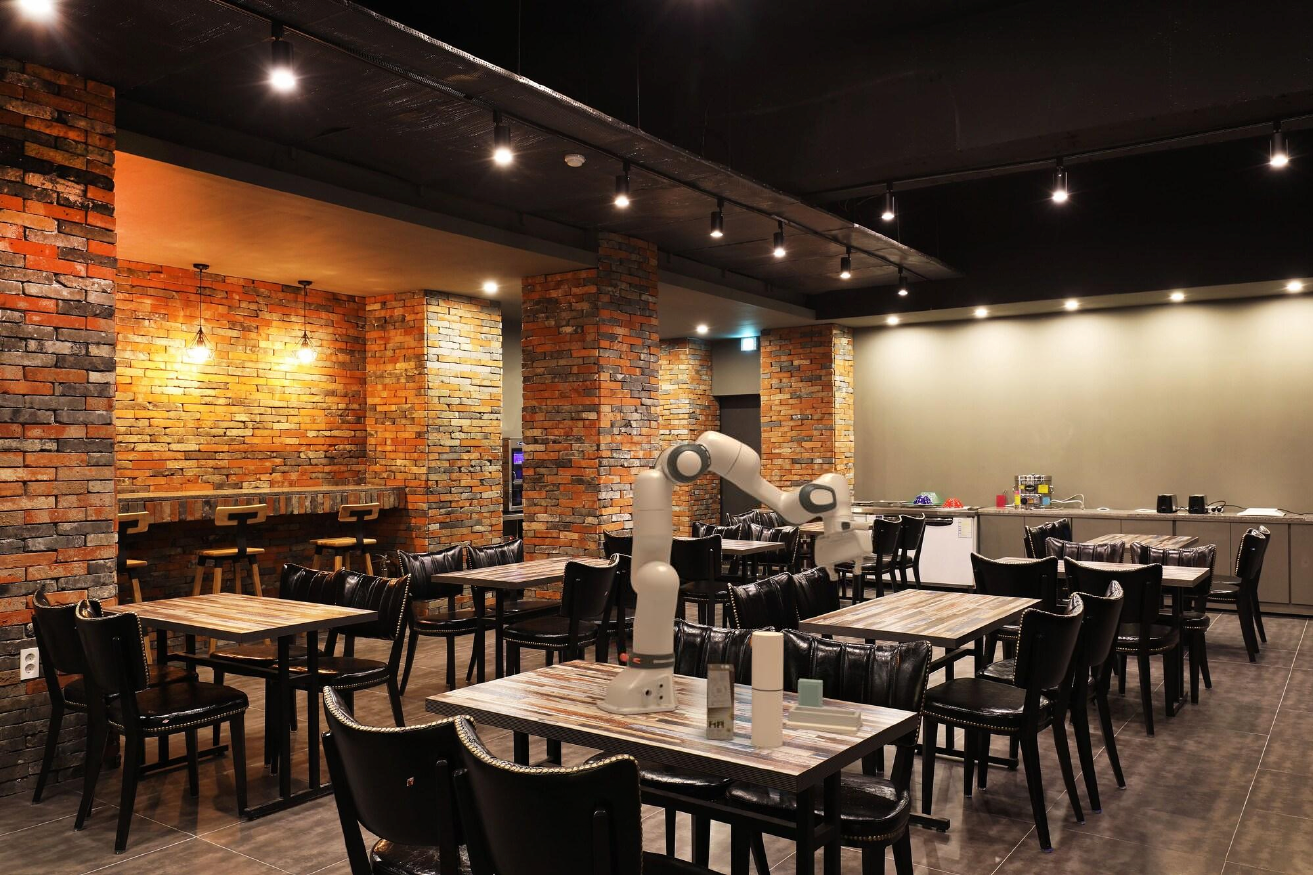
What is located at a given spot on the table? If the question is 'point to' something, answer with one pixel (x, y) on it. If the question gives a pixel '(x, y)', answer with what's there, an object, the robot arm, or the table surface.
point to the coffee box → (720, 701)
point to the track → (824, 719)
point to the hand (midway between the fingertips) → (845, 577)
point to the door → (810, 693)
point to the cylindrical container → (767, 689)
